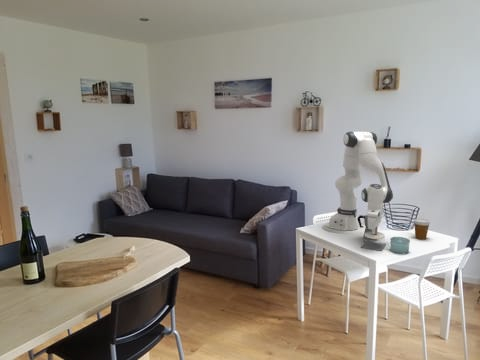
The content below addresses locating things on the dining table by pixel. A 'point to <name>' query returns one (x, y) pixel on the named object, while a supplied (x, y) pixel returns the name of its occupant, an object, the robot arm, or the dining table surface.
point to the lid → (374, 235)
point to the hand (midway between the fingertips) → (374, 232)
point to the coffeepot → (365, 225)
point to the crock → (400, 245)
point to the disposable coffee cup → (421, 228)
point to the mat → (373, 246)
